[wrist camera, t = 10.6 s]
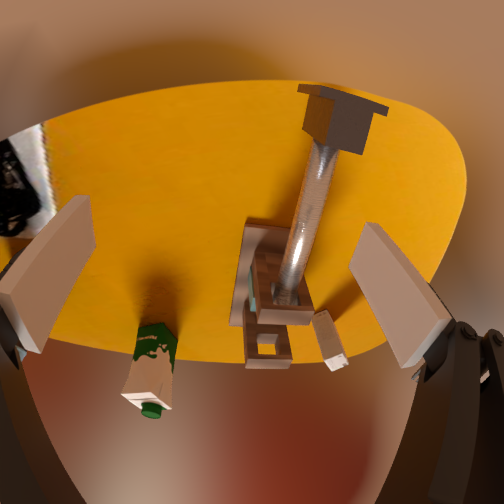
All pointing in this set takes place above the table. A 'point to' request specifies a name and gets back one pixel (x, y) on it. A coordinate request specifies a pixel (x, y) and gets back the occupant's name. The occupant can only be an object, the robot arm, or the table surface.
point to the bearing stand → (266, 298)
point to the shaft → (321, 171)
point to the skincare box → (329, 341)
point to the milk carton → (152, 370)
